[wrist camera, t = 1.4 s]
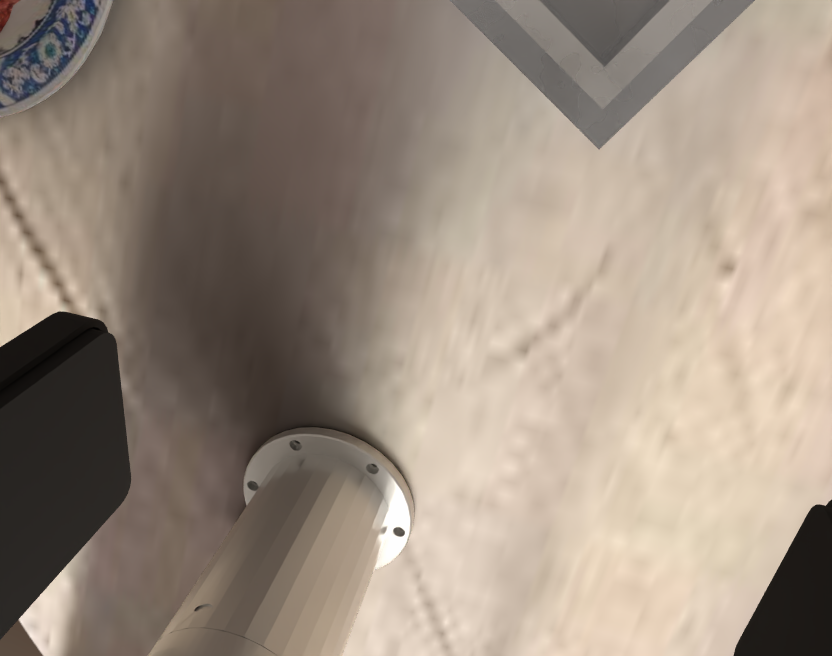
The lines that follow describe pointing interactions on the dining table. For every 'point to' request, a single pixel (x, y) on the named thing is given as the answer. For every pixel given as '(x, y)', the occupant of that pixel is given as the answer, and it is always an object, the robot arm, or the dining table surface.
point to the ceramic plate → (44, 47)
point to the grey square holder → (601, 49)
